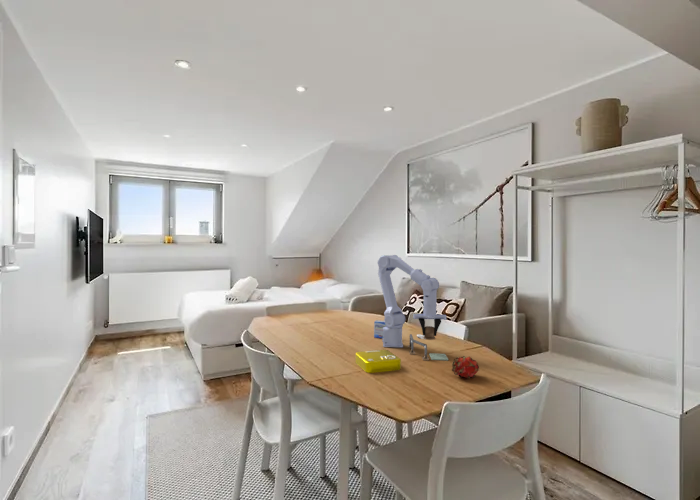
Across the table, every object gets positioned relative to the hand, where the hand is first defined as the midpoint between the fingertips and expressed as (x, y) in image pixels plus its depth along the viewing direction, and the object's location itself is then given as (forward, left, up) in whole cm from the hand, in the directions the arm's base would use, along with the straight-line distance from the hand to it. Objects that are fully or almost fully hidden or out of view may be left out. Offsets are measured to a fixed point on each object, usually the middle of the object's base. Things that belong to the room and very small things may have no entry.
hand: (429, 335), depth 168 cm
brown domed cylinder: (0, 0, -1) cm, 1 cm away
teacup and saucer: (+1, +32, -9) cm, 34 cm away
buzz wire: (-5, 0, -8) cm, 10 cm away
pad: (+3, -5, -8) cm, 10 cm away
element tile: (-23, -19, -9) cm, 31 cm away
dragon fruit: (+10, -28, -9) cm, 31 cm away
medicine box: (-21, +27, -9) cm, 35 cm away
